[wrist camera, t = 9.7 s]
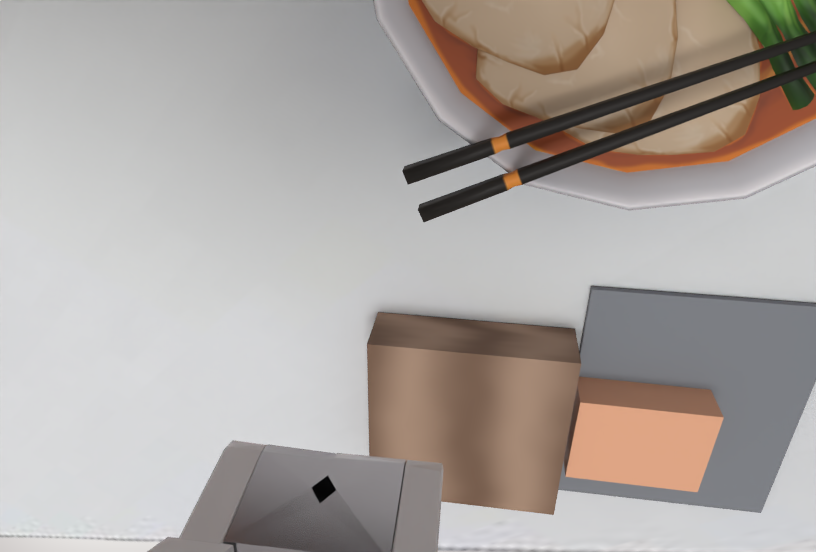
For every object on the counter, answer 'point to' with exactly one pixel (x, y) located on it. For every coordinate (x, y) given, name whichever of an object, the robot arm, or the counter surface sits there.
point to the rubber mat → (709, 379)
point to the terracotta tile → (641, 433)
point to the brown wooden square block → (475, 404)
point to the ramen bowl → (614, 95)
